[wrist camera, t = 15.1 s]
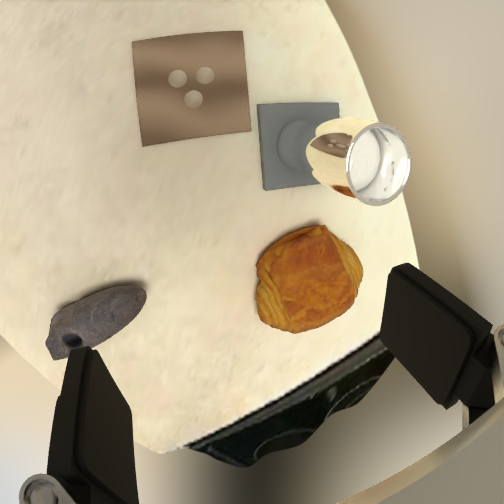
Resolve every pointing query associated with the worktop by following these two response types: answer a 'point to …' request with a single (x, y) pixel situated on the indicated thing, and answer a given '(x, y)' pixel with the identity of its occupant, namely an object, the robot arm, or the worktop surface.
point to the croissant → (307, 280)
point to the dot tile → (191, 86)
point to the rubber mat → (270, 127)
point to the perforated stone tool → (93, 319)
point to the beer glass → (349, 156)
